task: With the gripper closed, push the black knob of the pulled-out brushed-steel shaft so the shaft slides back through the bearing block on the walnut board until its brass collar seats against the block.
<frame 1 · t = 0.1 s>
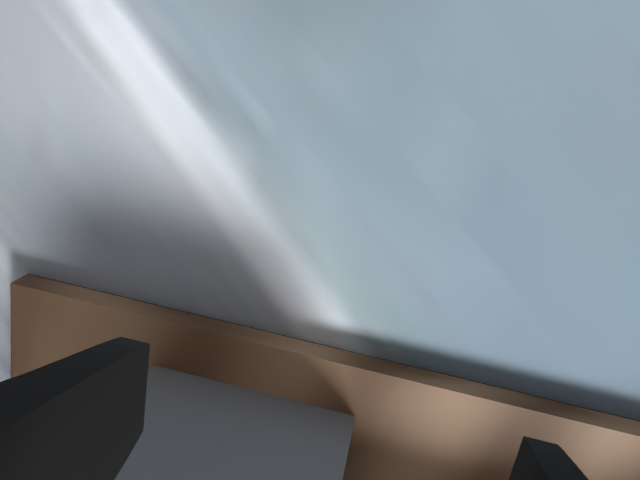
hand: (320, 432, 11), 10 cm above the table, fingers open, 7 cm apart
base board: (243, 477, 24), on the table
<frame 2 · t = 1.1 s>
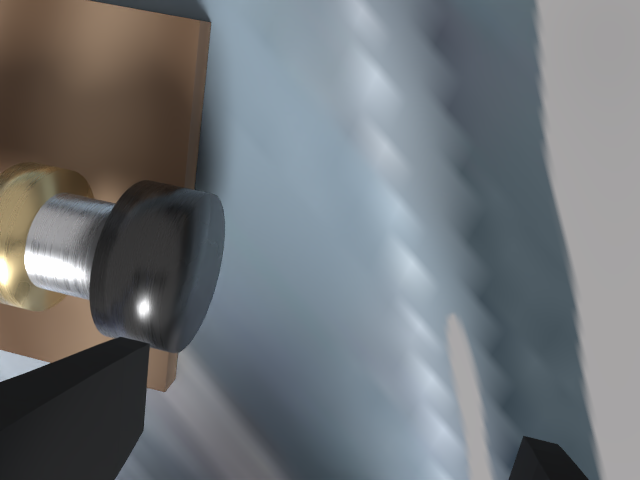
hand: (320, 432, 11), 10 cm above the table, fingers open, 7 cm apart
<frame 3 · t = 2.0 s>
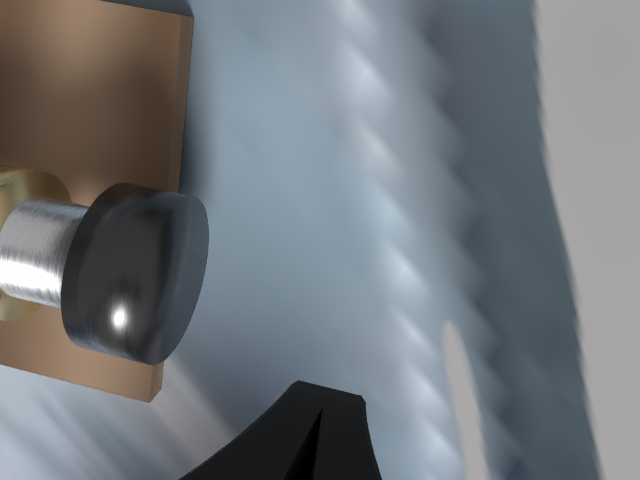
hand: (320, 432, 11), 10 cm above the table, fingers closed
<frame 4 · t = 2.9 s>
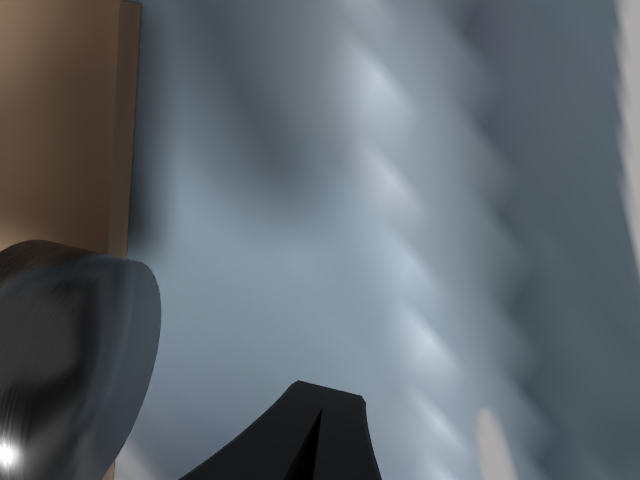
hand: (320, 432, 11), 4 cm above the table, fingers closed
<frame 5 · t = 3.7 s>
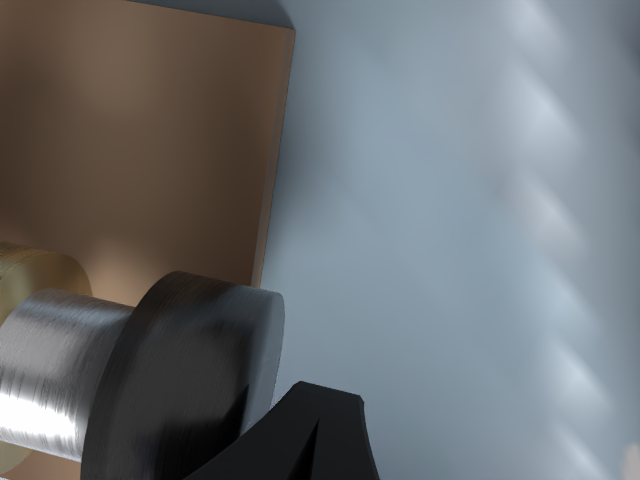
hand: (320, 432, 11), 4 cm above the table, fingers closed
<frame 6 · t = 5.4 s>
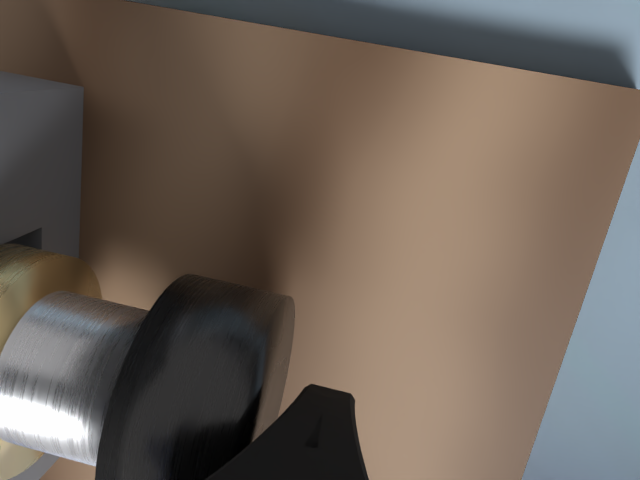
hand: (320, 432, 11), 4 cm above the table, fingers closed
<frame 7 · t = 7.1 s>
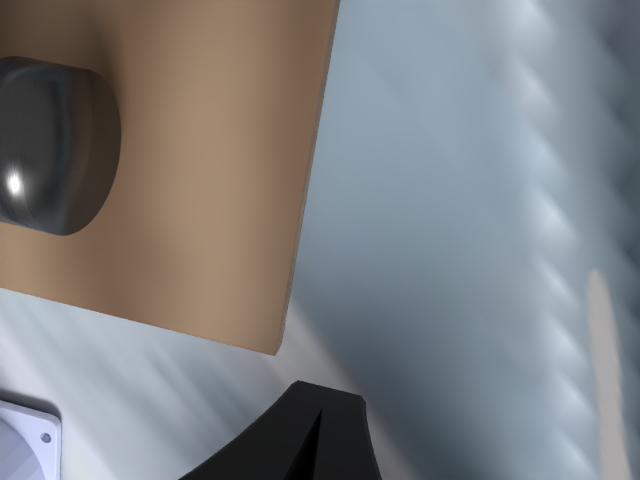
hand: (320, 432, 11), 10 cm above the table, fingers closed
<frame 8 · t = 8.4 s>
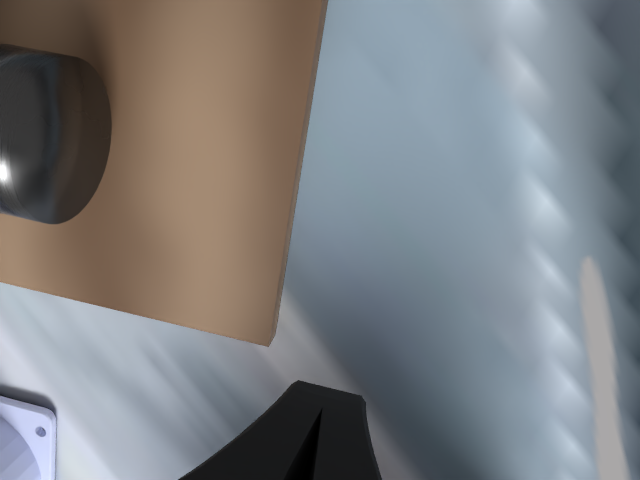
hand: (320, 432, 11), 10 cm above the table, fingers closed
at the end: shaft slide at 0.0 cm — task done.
